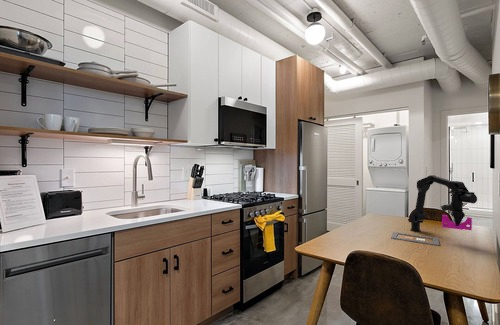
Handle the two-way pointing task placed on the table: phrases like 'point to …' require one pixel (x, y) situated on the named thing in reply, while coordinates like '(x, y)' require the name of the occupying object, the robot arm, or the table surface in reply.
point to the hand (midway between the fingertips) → (456, 225)
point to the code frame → (435, 240)
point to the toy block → (453, 225)
